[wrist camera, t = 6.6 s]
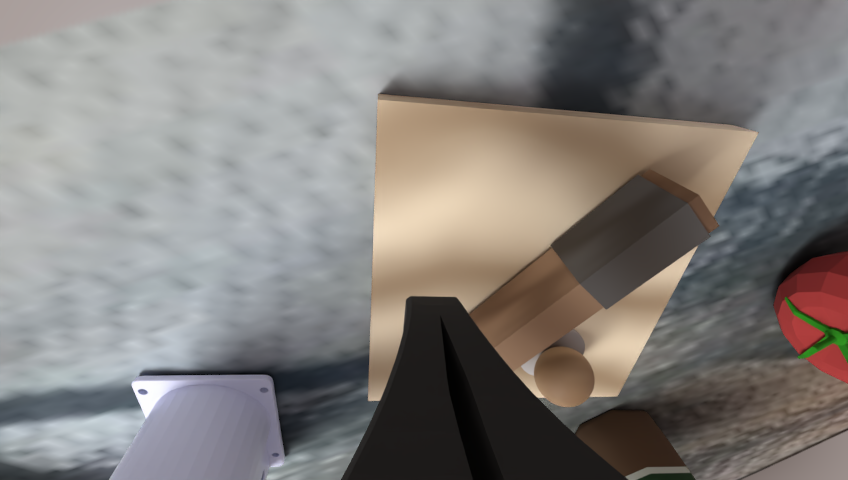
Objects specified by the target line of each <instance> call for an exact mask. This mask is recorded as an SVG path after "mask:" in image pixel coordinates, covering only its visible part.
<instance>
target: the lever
mask: <svg viewBox="0 0 848 480" xmlns="http://www.w3.org/2000/svg"><path fill="white" fill-rule="evenodd" d="M718 226H719V225H718V223H717V221H716V220H715V218H714V217H713V215H712V214H711V212H710V211H709V209H708V208H707V206H706V205H705V203H704V202H703V200H702V199H701V197H700V195H698V194H697V193H695V192H693V191H691V190H689V189H687V188H685V187H683V186H681V185H679V184H678V183H676V182H674V181H672V180H670V179H668V178H666V177H664V176H662V175H660V174H659V173H657V172H655V171H653V170H651V169H649V170H648V171H647V172H645V173H644V174H643V175H642V176H639V175H637V176H635V177H634V178H633V179H632V180H631V181H629V182H628V183H627V184H626V185H624V186H623V187H622V188H621V189H619V190H618V191H617V192H616V193H614V194H613V195H612V196H611V197H610V198H608V199H607V200H606V201H605V202H603V203H602V204H601V205H600V206H598V207H597V208H596V209H595V210H593V211H592V212H591V213H590V214H589V215H587V216H586V217H585V218H584V219H582V220H581V221H580V222H579V223H577V224H576V225H575V226H574V227H572V228H571V229H570V230H569V231H568V232H566V233H565V234H564V235H563V236H561V237H560V238H559V239H558V240H556V241H555V242H554V243H553V244H551V245H550V246H551V247H552V248H551V249H550V250H549V251H547V252H546V253H545V254H544V255H542V256H541V257H540V258H539V259H537V260H536V261H535V262H534V263H532V264H531V265H530V266H529V267H528V268H526V269H525V270H524V271H523V272H521V273H520V274H519V275H518V276H516V277H515V278H514V279H513V280H511V281H510V282H509V283H508V284H506V285H505V286H504V287H503V288H501V289H500V290H499V291H498V292H496V293H495V294H494V295H493V296H492V297H490V298H489V299H488V300H487V301H485V302H484V303H483V304H482V305H480V306H479V307H478V308H477V309H475V310H474V311H473V312H472V313H470V314H469V315H470V316H471V318H472V319H473V321H474V322H475V323H476V325H477V326H478V328H479V329H480V330H481V332H482V333H483V334H484V336H485V337H486V338H487V340H488V341H489V342H490V343H491V345H492V346H493V347H494V348H495V350H496V351H497V352H498V353H499V355H500V356H501V357H502V358H503V360H504V361H505V362H506V363H507V364H508V366H509V367H510V368H511V369H512V370H513V371H515V370H516V369H517V368H519V367H520V366H522V365H523V364H525V363H526V362H527V361H529V360H530V359H532V358H533V357H534V356H536V355H537V354H539V353H540V352H542V351H543V350H544V349H546V348H547V347H549V346H550V345H551V344H553V343H554V342H556V341H557V340H559V339H560V338H561V337H563V336H564V335H566V334H567V333H568V332H570V331H571V330H573V329H574V328H575V327H577V326H578V325H580V324H581V323H583V322H584V321H585V320H587V319H588V318H590V317H591V316H592V315H594V314H595V313H597V312H598V311H600V310H601V309H602V308H605V309H606V310H607V309H608V308H610V307H611V306H613V305H614V304H615V303H617V302H618V301H620V300H621V299H623V298H624V297H625V296H627V295H628V294H630V293H631V292H633V291H634V290H635V289H637V288H638V287H640V286H641V285H642V284H644V283H645V282H647V281H648V280H650V279H651V278H652V277H654V276H655V275H657V274H658V273H660V272H661V271H662V270H664V269H665V268H667V267H668V266H670V265H671V264H672V263H674V262H675V261H677V260H678V259H679V258H681V257H682V256H684V255H685V254H687V253H688V252H689V251H691V250H692V249H694V248H695V247H697V246H698V245H699V244H701V243H702V242H704V241H705V240H707V239H708V238H709V237H711V236H710V235H709V233H710V232H711V231H713V230H714V229H716V228H717V227H718Z"/></svg>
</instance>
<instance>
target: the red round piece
mask: <svg viewBox="0 0 848 480" xmlns="http://www.w3.org/2000/svg"><path fill="white" fill-rule="evenodd" d="M773 306H774V309H775V312H776V315H777V318H778V322H779V325H780V328H781V330H782V332H783V334H784V335H785V337H786V338H787V339H788V340H789V342H790V343H791V344H792V346H793V347H794V348H795V349H796V351H797V352H798V353H799V354H800V355H799V356H798V358H799V359H801V358H805V359H807V360H808V361H809V362H811V363H812V364H813V365H814V366H816V367H817V368H818V369H820V370H821V371H823V372H825V373H827V374H829V375H831V376H833V377H835V378H837V379H839V380H842V381H844V382H846V383H848V251H847V252H839V253H834V254H829V255H825V256H820V257H815V258H812V259H810V260H809V261H808V262H806V263H805V264H803V265H802V266H800V267H799V268H797V269H796V270H794V271H793V272H791V273H790V275H789V276H788V277H787V278H786V279H785V280H784V281H783V282H782V283H781V285H780V286H779V287H778V291H777V294H776V298H775V301H774V305H773Z"/></svg>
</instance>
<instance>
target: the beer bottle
mask: <svg viewBox="0 0 848 480" xmlns="http://www.w3.org/2000/svg"><path fill="white" fill-rule="evenodd" d="M575 435H576V436H577V437H578V438H580V439H581V440H582V441H583V442H584V443H585V444H587V445H588V446H589V447H590V448H591V449H592V450H594V451H595V452H596V453H597V454H598V455H600V456H601V457H602V458H603V459H604V460H605V461H607V462H608V463H609V464H610V465H611V466H613V467H614V468H615V469H616V470H617V471H618V472H620V473H621V474H622V475H623V476H625V477H626V478H627V479H628V480H695V478H694V477H693V475H692V474H691V472H690V471H689V469H688V468H687V467H686V465H685V464H684V462H683V461H682V459H681V458H680V456H679V455H678V453H677V452H676V451H675V449H674V448H673V446H672V445H671V444H670V442H669V441H668V439H667V438H666V436H665V435H664V434H663V432H662V431H661V430H660V428H659V427H658V426H657V425H656V423H655V422H654V421H653V419H652V418H651V417H650V415H649V414H648V413H647V412H645V411H644V410H610V411H608V412H606V413H604V414H602V415H600V416H598V417H596V418H594V419H592V420H589V421H587V422H585V423H583V424H581V425H580V426H579V427H578V429H577V431H576V433H575Z"/></svg>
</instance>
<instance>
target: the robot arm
mask: <svg viewBox="0 0 848 480" xmlns="http://www.w3.org/2000/svg"><path fill="white" fill-rule="evenodd" d="M132 387H133V390H134V392H135V394H136V396H137V399H138V401H139V403H140V406H141V408H142V410H143V412H144V415H145V417H146V420H145V422H144V423H143V425H142V427H141V428H140V430H139V432H138V433H137V435H136V436H135V438H134V440H133V441H132V443H131V445H130V446H129V448H128V449H127V451H126V453H125V454H124V456H123V458H122V459H121V461H120V463H119V464H118V466H117V467H116V469H115V471H114V472H113V474H112V476H111V477H110V479H109V480H266V477H267V473H268V470H269V467H273V466H281V465H283V464H284V460H285V454H284V448H283V442H282V435H281V429H280V422H279V416H278V409H277V403H276V396H275V390H274V383H273V379H272V378H271V377H270V376H268V375H167V376H138V377H136V378H135V379H134V381H133V382H132ZM341 480H628V479H627V478H626V477H625V476H623V475H622V474H621V473H620V472H618V471H617V470H616V469H615V468H614V467H613V466H611V465H610V464H609V463H608V462H607V461H605V460H604V459H603V458H602V457H601V456H600V455H598V454H597V453H596V452H595V451H594V450H592V449H591V448H590V447H589V446H588V445H587V444H585V443H584V442H583V441H582V440H581V439H580V438H578V437H577V436H576V435H575V434H574V433H573V432H572V431H571V430H570V429H569V428H567V427H566V426H565V425H564V424H563V423H562V422H561V421H560V420H559V419H558V418H557V417H556V416H555V415H554V414H553V413H552V412H551V411H550V410H549V409H548V408H547V407H546V406H545V405H544V404H543V403H542V402H541V401H540V400H539V399H538V398H537V397H536V396H535V395H534V394H533V393H532V392H531V391H530V389H529V388H528V387H527V386H526V385H525V384H524V383H523V382H522V381H521V379H520V378H519V377H518V376H517V375H516V374H515V373H514V372H513V370H512V369H511V368H510V367H509V366H508V364H507V363H506V362H505V361H504V360H503V358H502V357H501V356H500V355H499V353H498V352H497V351H496V350H495V348H494V347H493V346H492V345H491V343H490V342H489V341H488V340H487V338H486V337H485V336H484V334H483V333H482V332H481V330H480V329H479V328H478V326H477V325H476V323H475V322H474V321H473V319H472V318H471V316H470V315H469V314H468V312H467V311H466V309H465V308H464V306H463V305H462V303H461V302H460V301H459V299H458V298H457V297H435V296H410V297H409V298H407V299H406V304H405V315H404V326H403V335H402V339H401V342H400V346H399V349H398V353H397V356H396V359H395V362H394V365H393V368H392V371H391V373H390V376H389V379H388V382H387V384H386V387H385V390H384V392H383V395H382V397H381V399H380V402H379V404H378V406H377V409H376V411H375V413H374V415H373V418H372V420H371V422H370V424H369V426H368V428H367V430H366V432H365V434H364V436H363V438H362V440H361V442H360V444H359V446H358V448H357V450H356V452H355V454H354V456H353V458H352V460H351V462H350V464H349V466H348V468H347V470H346V471H345V473H344V475H343V477H342V479H341Z"/></svg>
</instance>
